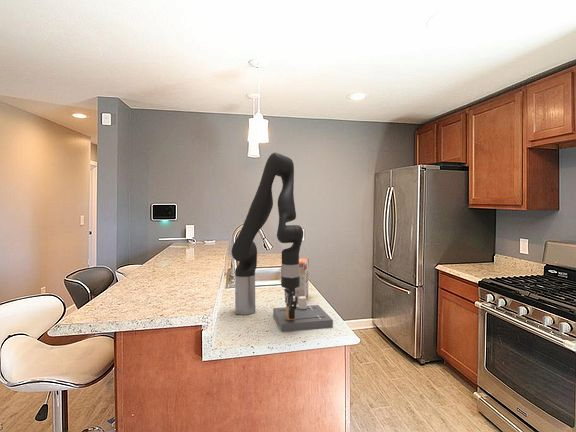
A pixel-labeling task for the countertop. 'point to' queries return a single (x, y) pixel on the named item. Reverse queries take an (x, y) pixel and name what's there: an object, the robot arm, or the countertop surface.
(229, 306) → the countertop surface
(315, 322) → the mixer console
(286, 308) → the block
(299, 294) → the cracker box
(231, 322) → the countertop surface
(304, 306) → the white fader
